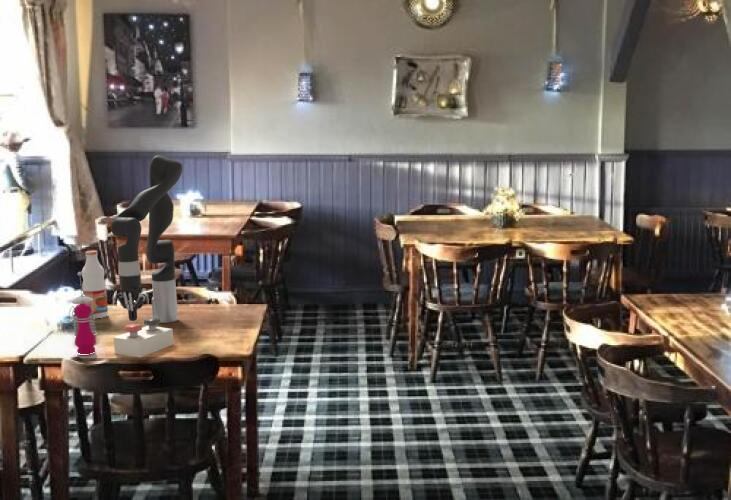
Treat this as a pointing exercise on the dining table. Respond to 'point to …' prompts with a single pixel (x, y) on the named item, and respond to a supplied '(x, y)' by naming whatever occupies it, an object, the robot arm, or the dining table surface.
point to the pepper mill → (84, 329)
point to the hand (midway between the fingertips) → (133, 320)
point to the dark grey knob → (152, 323)
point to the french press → (76, 301)
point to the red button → (133, 329)
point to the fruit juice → (95, 285)
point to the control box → (143, 342)
